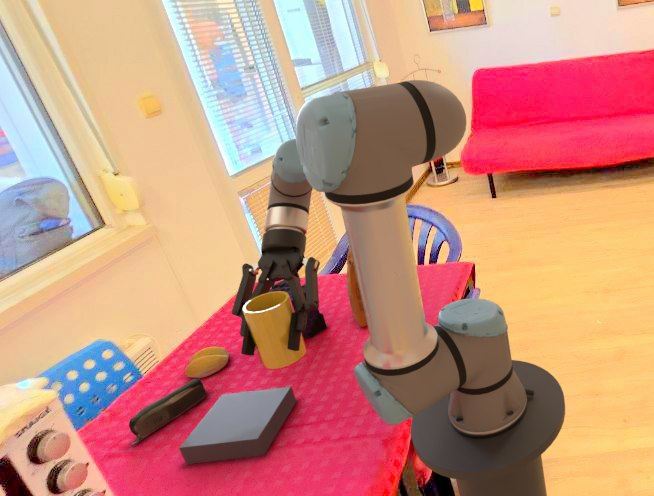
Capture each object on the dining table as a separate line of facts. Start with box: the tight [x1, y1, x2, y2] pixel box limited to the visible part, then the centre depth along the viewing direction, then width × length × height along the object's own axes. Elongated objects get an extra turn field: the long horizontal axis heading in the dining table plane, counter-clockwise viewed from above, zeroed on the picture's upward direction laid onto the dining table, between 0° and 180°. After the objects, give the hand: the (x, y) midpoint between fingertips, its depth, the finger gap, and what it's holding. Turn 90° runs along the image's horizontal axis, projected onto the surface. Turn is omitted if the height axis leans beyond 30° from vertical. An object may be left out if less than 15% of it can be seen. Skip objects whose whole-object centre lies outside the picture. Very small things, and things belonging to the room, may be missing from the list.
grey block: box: [178, 386, 297, 465], centre depth 101 cm, size 14×14×4 cm
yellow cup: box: [242, 291, 307, 370], centre depth 96 cm, size 7×7×12 cm
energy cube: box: [269, 280, 328, 340], centre depth 130 cm, size 12×12×12 cm
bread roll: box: [184, 345, 230, 379], centre depth 122 cm, size 8×9×4 cm
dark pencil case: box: [128, 378, 208, 447], centre depth 106 cm, size 5×3×15 cm
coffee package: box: [346, 245, 368, 328], centre depth 135 cm, size 10×12×22 cm
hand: (270, 351), depth 94 cm, fingers closed on yellow cup, 7 cm apart
